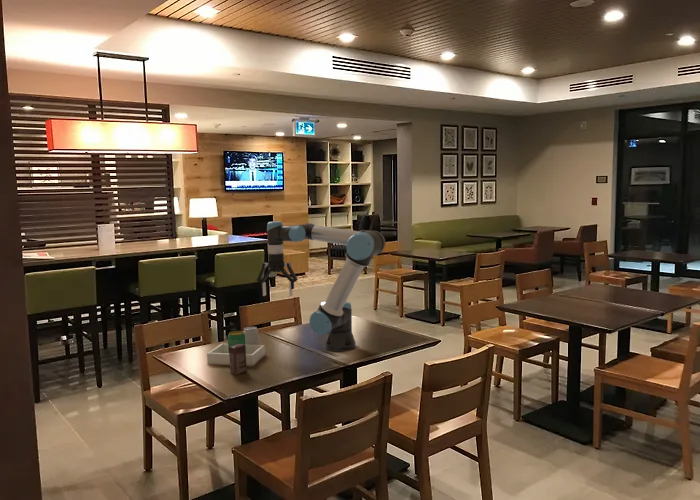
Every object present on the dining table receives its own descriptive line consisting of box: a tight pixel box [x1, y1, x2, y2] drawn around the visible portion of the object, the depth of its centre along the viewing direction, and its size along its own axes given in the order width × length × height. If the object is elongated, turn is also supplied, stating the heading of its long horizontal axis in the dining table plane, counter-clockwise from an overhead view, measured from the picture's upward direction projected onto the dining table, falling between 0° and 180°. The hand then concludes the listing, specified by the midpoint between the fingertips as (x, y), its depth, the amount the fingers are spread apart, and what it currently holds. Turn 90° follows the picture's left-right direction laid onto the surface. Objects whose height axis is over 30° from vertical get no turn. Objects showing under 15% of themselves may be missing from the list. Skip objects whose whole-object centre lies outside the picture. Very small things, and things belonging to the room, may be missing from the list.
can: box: [243, 326, 260, 345], centre depth 275 cm, size 8×8×12 cm
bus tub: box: [206, 343, 266, 367], centre depth 263 cm, size 22×16×5 cm
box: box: [229, 344, 248, 376], centre depth 244 cm, size 6×4×12 cm
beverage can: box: [227, 330, 246, 353], centre depth 263 cm, size 8×8×12 cm
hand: (277, 295), depth 278 cm, fingers open, 13 cm apart
